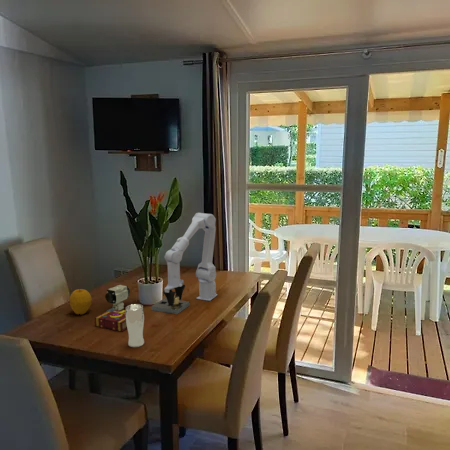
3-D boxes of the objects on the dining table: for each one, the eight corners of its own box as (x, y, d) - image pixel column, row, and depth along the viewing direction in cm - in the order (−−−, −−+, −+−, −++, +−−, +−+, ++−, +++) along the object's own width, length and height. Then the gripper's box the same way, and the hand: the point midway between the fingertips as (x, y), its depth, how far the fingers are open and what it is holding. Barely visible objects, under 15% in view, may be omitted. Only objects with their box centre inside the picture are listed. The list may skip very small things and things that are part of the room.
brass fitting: (173, 306, 194) (173, 294, 193) (180, 307, 192) (180, 295, 191) (169, 309, 190) (168, 297, 189) (176, 310, 189) (176, 298, 188)
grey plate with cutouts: (164, 301, 201) (164, 298, 200) (189, 305, 195) (189, 301, 195) (151, 310, 190) (151, 306, 189) (177, 314, 184) (177, 310, 184)
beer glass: (138, 349, 151) (136, 311, 148) (123, 346, 153) (121, 309, 151) (148, 341, 157) (147, 305, 155) (133, 338, 160) (131, 303, 157)
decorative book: (122, 332, 166) (121, 321, 165) (92, 326, 173) (91, 315, 172) (138, 322, 176) (138, 312, 175) (110, 317, 183) (109, 306, 182)
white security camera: (105, 312, 187) (104, 288, 185) (124, 304, 197) (122, 281, 195) (114, 314, 185) (112, 290, 183) (132, 306, 194) (130, 283, 192)
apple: (96, 310, 191) (94, 286, 189) (84, 318, 181) (82, 293, 179) (78, 308, 193) (77, 285, 191) (66, 316, 184) (64, 291, 182)
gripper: (173, 280, 181) (174, 308, 183) (188, 271, 194) (189, 298, 196) (160, 278, 183) (161, 306, 186) (176, 270, 196) (176, 296, 199)
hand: (174, 302), depth 191 cm, fingers open, 7 cm apart
